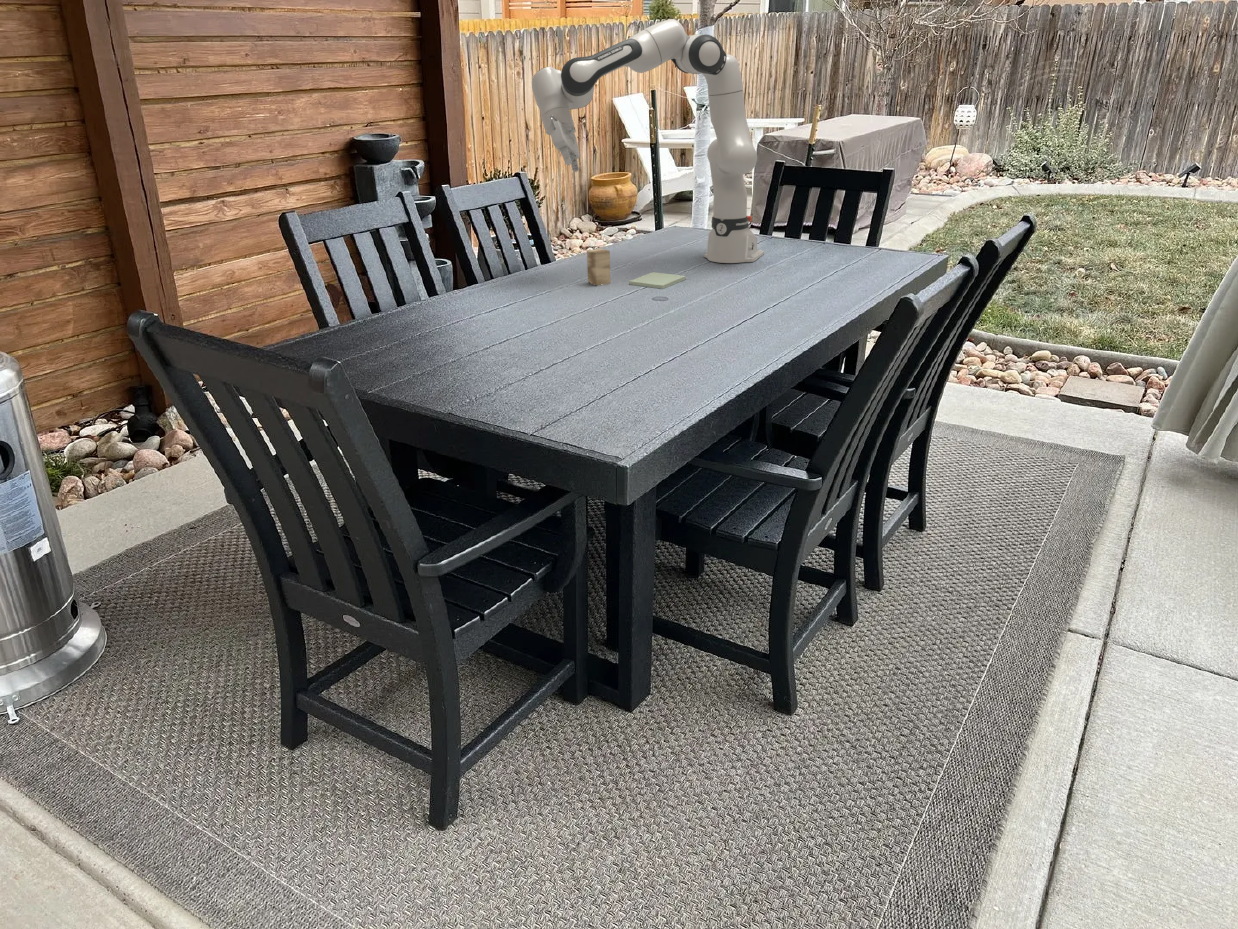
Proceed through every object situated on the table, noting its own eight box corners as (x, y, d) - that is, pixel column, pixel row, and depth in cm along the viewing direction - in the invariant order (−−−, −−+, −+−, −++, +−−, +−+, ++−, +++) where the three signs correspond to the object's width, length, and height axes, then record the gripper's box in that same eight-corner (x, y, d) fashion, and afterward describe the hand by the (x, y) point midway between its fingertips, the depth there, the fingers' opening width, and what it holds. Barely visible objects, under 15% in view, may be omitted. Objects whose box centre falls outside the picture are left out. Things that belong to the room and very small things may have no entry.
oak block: (588, 283, 285) (586, 250, 280) (601, 280, 287) (600, 248, 283) (596, 285, 281) (595, 253, 277) (610, 283, 283) (609, 250, 279)
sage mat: (652, 275, 292) (652, 272, 292) (685, 279, 286) (685, 276, 286) (628, 284, 282) (628, 281, 281) (662, 288, 276) (662, 285, 275)
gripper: (559, 109, 265) (574, 155, 265) (575, 128, 285) (589, 171, 286) (539, 117, 266) (554, 163, 267) (557, 135, 286) (571, 178, 287)
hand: (572, 167), depth 276 cm, fingers open, 8 cm apart
